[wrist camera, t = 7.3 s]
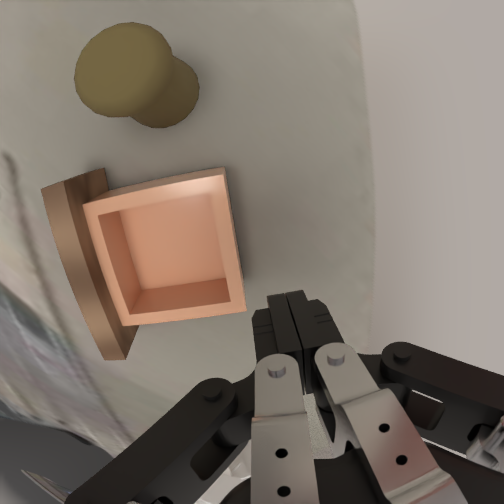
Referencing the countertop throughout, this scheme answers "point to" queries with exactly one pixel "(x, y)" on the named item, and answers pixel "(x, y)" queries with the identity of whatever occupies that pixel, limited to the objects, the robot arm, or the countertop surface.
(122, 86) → the cork
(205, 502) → the spiral staircase
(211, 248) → the terracotta holder
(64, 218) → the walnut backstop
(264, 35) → the countertop surface
